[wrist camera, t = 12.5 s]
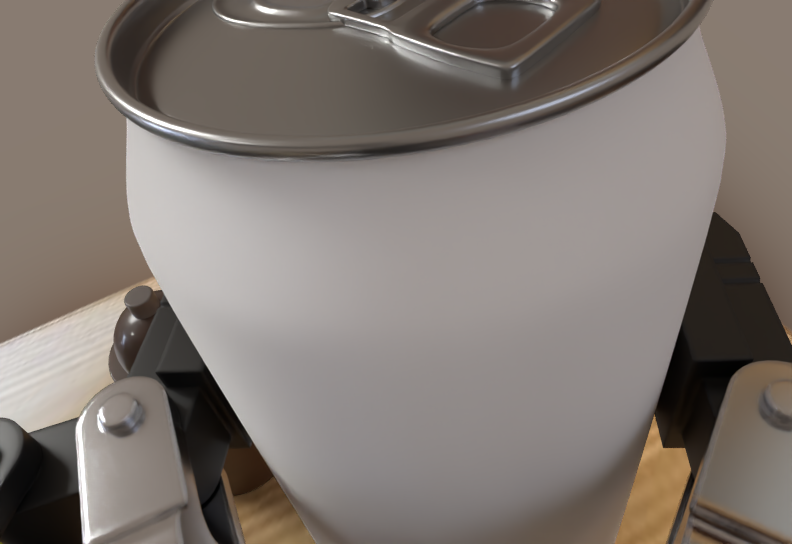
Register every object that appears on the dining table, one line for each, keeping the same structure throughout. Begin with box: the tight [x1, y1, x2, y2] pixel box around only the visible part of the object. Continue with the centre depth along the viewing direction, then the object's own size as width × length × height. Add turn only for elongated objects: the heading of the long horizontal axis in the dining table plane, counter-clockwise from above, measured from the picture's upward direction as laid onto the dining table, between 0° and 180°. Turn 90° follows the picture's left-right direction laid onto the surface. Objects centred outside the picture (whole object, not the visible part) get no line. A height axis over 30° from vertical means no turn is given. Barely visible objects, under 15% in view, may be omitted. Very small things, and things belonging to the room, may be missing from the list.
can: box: [94, 0, 726, 544], centre depth 10 cm, size 6×6×12 cm
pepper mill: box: [109, 286, 273, 495], centre depth 25 cm, size 5×5×11 cm
